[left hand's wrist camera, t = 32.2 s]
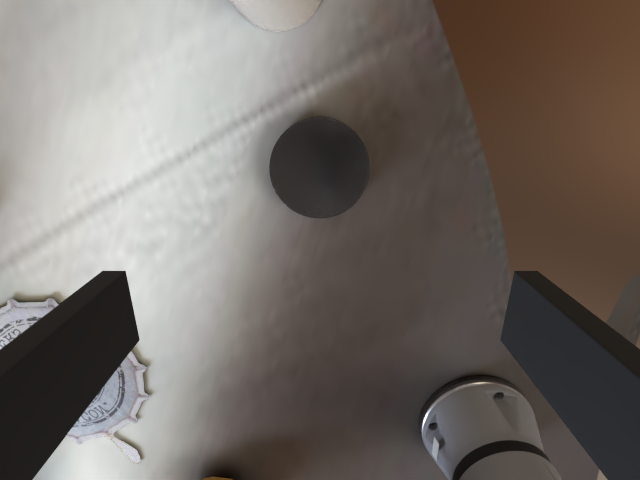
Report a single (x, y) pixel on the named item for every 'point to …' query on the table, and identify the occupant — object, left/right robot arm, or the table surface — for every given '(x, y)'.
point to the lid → (319, 167)
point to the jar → (276, 12)
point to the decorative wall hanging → (114, 398)
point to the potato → (216, 478)
